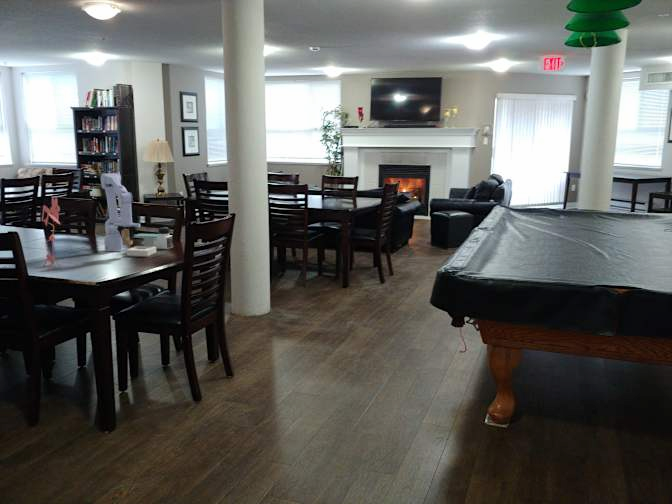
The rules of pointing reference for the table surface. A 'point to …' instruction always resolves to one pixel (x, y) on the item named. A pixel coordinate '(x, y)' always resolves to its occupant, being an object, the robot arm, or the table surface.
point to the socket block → (141, 251)
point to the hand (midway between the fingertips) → (127, 240)
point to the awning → (148, 239)
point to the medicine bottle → (164, 239)
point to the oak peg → (126, 237)
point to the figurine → (55, 217)
